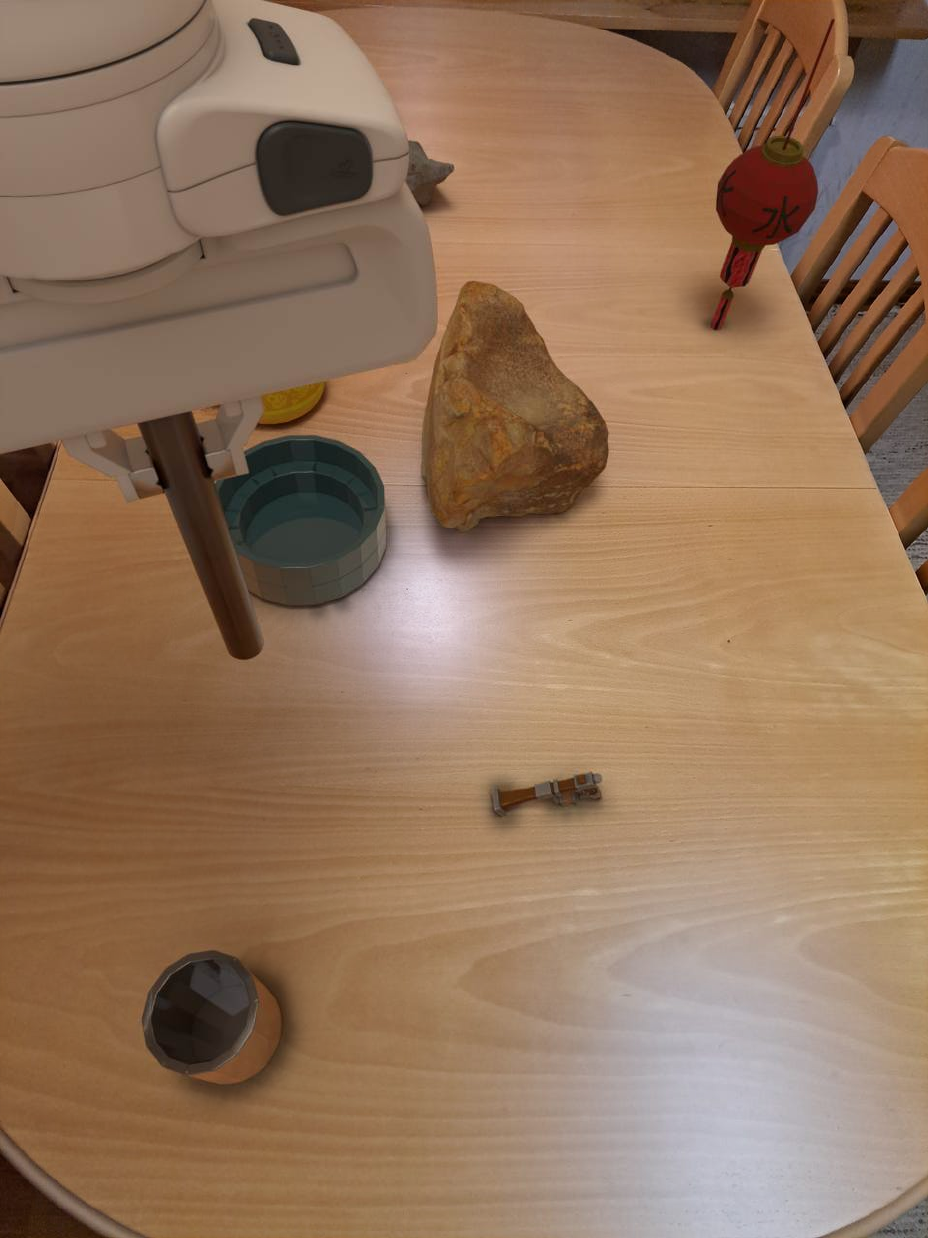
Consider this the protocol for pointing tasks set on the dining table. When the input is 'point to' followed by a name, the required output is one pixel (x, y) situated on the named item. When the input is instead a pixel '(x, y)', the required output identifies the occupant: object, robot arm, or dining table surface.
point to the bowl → (305, 519)
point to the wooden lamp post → (549, 792)
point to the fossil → (424, 173)
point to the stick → (204, 528)
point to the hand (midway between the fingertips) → (186, 476)
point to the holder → (211, 1019)
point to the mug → (290, 403)
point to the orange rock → (504, 418)
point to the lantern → (763, 202)
